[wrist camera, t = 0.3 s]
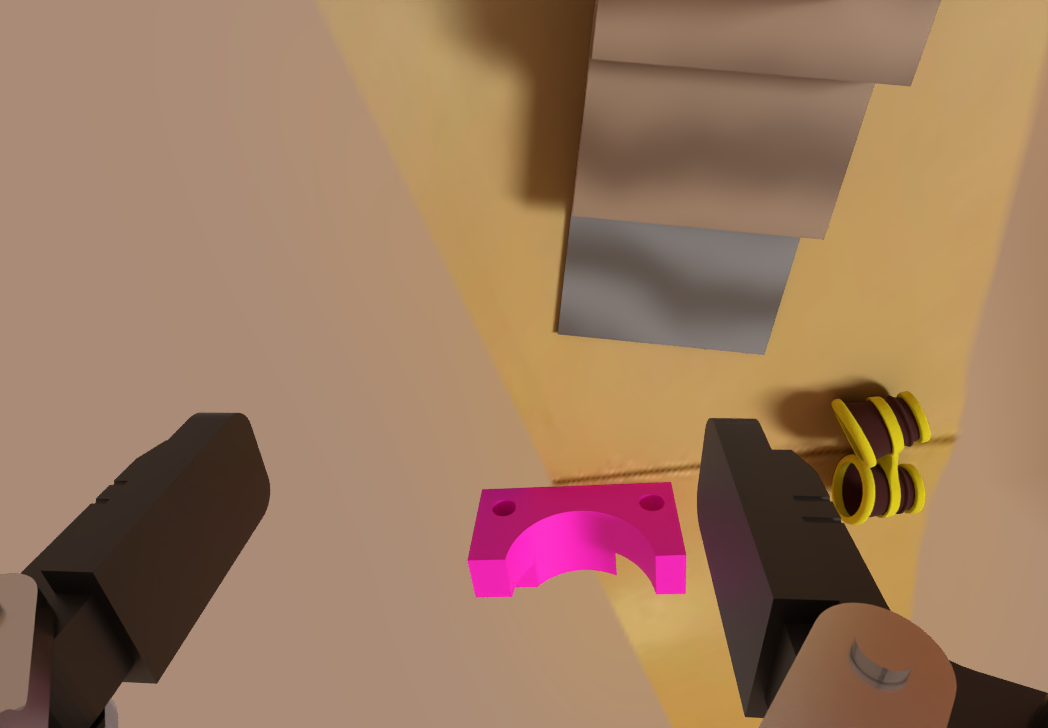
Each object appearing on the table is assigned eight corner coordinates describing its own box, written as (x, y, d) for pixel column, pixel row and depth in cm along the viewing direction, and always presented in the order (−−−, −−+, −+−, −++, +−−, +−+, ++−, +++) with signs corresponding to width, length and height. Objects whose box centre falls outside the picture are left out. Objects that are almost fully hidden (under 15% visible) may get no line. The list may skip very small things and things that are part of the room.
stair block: (619, -216, 27) (631, -287, 21) (929, -194, 27) (1033, -261, 21) (557, 332, 41) (554, 384, 35) (763, 352, 41) (795, 409, 34)
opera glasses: (898, 483, 45) (932, 531, 41) (824, 492, 46) (849, 540, 42) (904, 374, 41) (944, 415, 36) (822, 386, 42) (851, 428, 37)
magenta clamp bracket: (493, 545, 51) (481, 620, 45) (482, 489, 48) (467, 560, 42) (670, 540, 50) (685, 617, 43) (670, 481, 47) (686, 554, 40)
